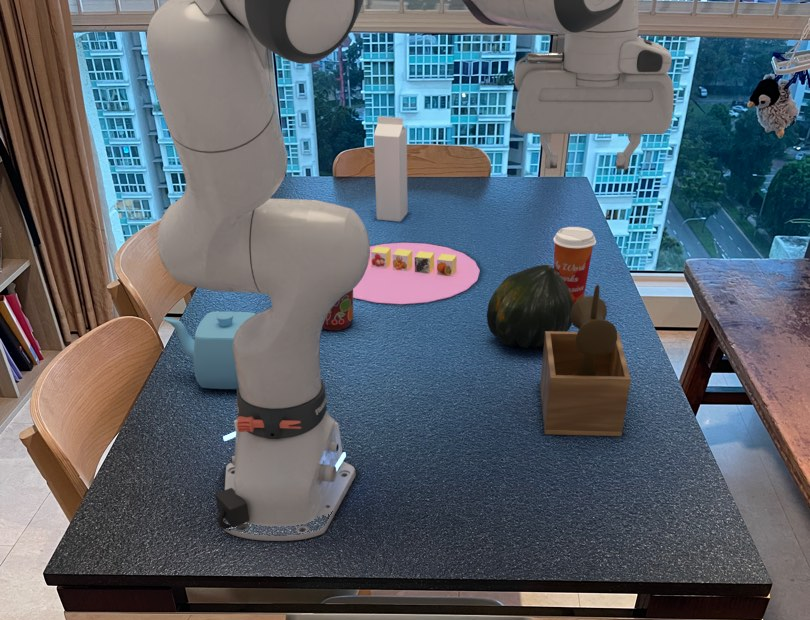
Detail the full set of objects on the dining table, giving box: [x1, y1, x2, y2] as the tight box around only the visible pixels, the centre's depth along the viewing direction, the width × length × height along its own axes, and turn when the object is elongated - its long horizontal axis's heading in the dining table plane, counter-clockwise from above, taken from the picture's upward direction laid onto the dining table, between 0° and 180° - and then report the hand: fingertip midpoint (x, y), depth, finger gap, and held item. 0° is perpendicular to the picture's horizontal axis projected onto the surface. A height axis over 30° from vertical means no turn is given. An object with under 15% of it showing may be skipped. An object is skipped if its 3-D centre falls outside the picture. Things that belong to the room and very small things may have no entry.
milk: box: [373, 115, 409, 223], centre depth 202 cm, size 6×6×22 cm
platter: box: [353, 242, 481, 306], centre depth 182 cm, size 32×32×3 cm
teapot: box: [162, 311, 256, 390], centre depth 146 cm, size 12×18×12 cm
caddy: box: [539, 331, 632, 437], centre depth 137 cm, size 15×12×10 cm
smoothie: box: [322, 289, 354, 331], centre depth 159 cm, size 8×8×20 cm
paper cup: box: [553, 226, 597, 304], centre depth 165 cm, size 8×8×14 cm
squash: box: [486, 264, 574, 349], centre depth 155 cm, size 14×15×15 cm
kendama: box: [570, 284, 618, 376], centre depth 133 cm, size 6×10×20 cm, turn 179°
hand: (586, 167), depth 119 cm, fingers open, 8 cm apart
